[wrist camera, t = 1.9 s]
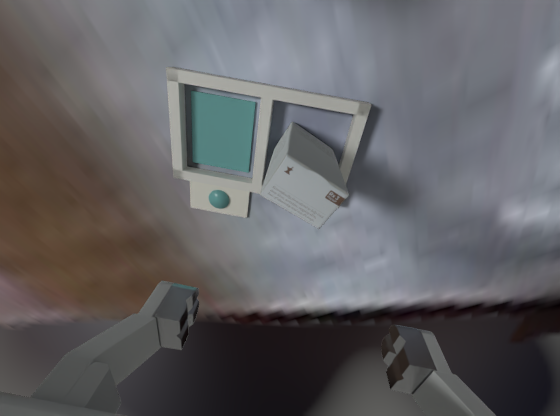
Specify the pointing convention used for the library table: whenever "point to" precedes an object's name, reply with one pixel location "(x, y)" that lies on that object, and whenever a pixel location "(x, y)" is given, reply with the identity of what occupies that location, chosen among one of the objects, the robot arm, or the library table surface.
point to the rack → (238, 135)
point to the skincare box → (304, 177)
